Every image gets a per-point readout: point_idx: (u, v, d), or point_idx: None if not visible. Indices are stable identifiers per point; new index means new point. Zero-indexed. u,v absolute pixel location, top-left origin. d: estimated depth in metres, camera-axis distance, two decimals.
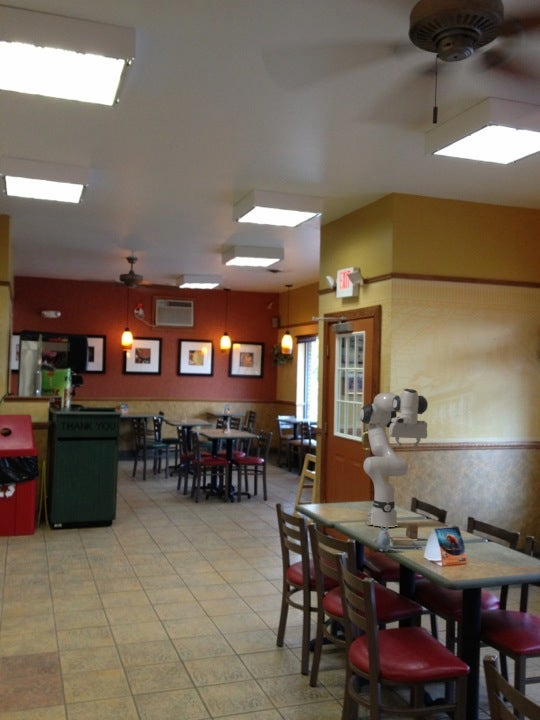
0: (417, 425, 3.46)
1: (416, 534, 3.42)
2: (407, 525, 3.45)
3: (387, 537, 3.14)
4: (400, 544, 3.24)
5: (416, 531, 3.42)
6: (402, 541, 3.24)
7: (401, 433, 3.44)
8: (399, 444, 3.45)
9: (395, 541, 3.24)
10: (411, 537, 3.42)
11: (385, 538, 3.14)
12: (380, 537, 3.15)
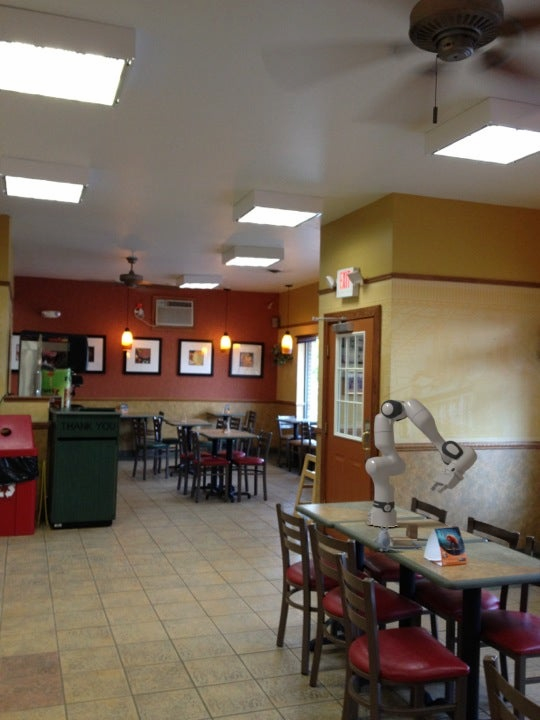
0: None
1: (416, 534, 3.42)
2: (407, 525, 3.45)
3: (387, 537, 3.14)
4: (400, 544, 3.24)
5: (416, 531, 3.42)
6: (402, 541, 3.24)
7: None
8: None
9: (395, 541, 3.24)
10: (411, 537, 3.42)
11: (385, 538, 3.14)
12: (380, 537, 3.15)
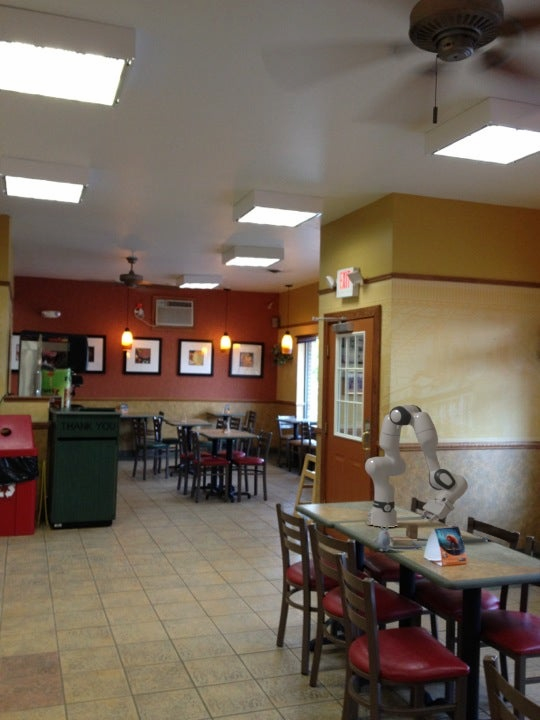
0: None
1: (416, 534, 3.42)
2: (407, 525, 3.45)
3: (387, 537, 3.14)
4: (400, 544, 3.24)
5: (416, 531, 3.42)
6: (402, 541, 3.24)
7: None
8: None
9: (395, 541, 3.24)
10: (411, 537, 3.42)
11: (385, 538, 3.14)
12: (380, 537, 3.15)
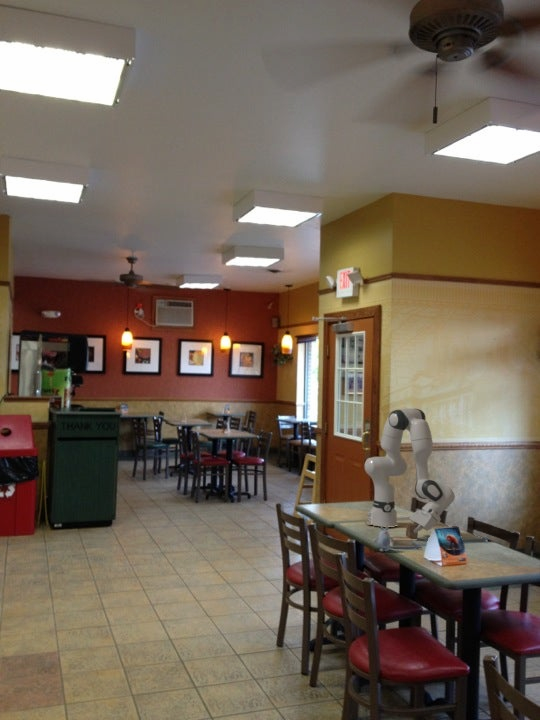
0: None
1: (416, 534, 3.42)
2: (407, 525, 3.45)
3: (387, 537, 3.14)
4: (400, 544, 3.24)
5: None
6: (402, 541, 3.24)
7: None
8: None
9: (395, 541, 3.24)
10: (411, 537, 3.42)
11: (385, 538, 3.14)
12: (380, 537, 3.15)
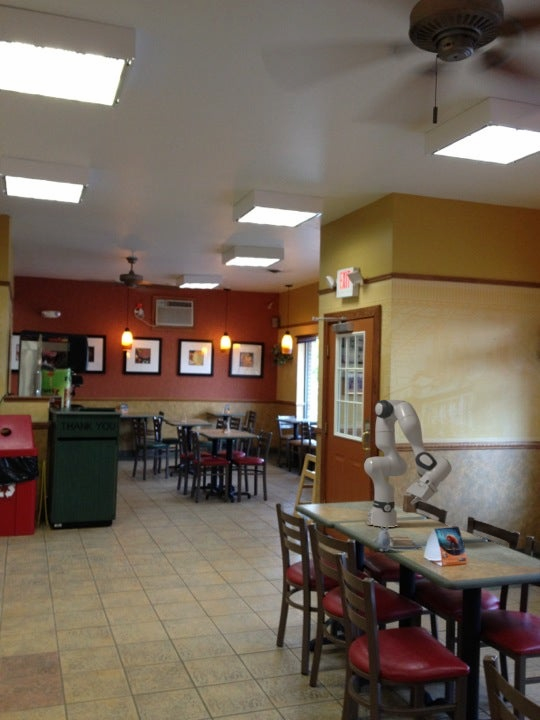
0: None
1: (413, 506, 3.36)
2: (404, 497, 3.38)
3: (387, 537, 3.14)
4: (400, 544, 3.24)
5: None
6: (402, 541, 3.24)
7: None
8: None
9: (395, 541, 3.24)
10: (408, 509, 3.35)
11: (385, 538, 3.14)
12: (380, 537, 3.15)
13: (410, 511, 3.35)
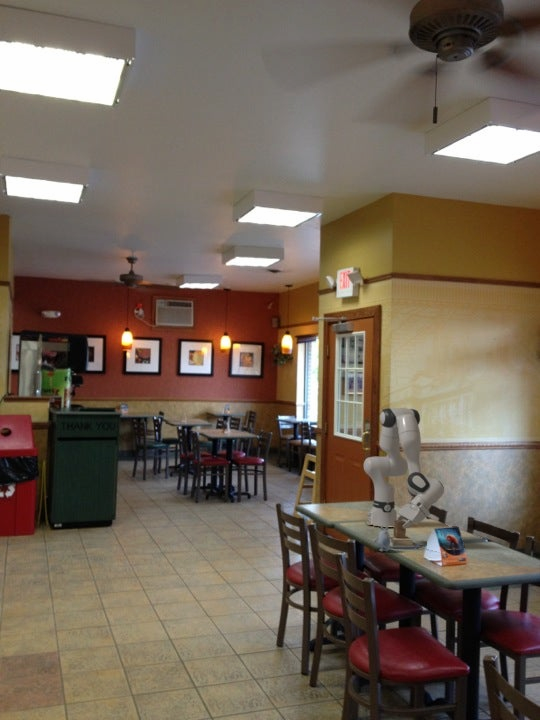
0: None
1: (404, 532, 3.28)
2: (395, 522, 3.30)
3: (387, 537, 3.14)
4: (400, 544, 3.24)
5: None
6: (402, 541, 3.24)
7: None
8: None
9: (395, 541, 3.24)
10: (399, 535, 3.27)
11: (385, 538, 3.14)
12: (380, 537, 3.15)
13: (401, 537, 3.27)
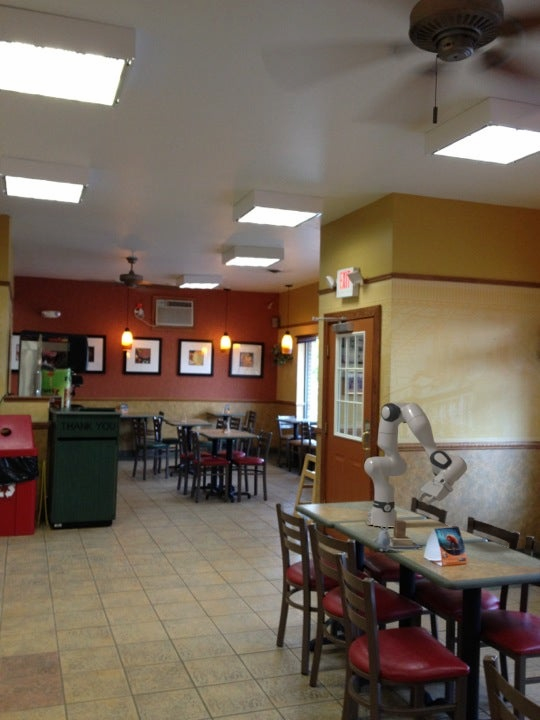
0: None
1: (404, 532, 3.28)
2: (395, 522, 3.30)
3: (387, 537, 3.14)
4: (400, 544, 3.24)
5: (404, 528, 3.28)
6: (402, 541, 3.24)
7: None
8: None
9: (395, 541, 3.24)
10: (399, 535, 3.27)
11: (385, 538, 3.14)
12: (380, 537, 3.15)
13: (401, 537, 3.27)
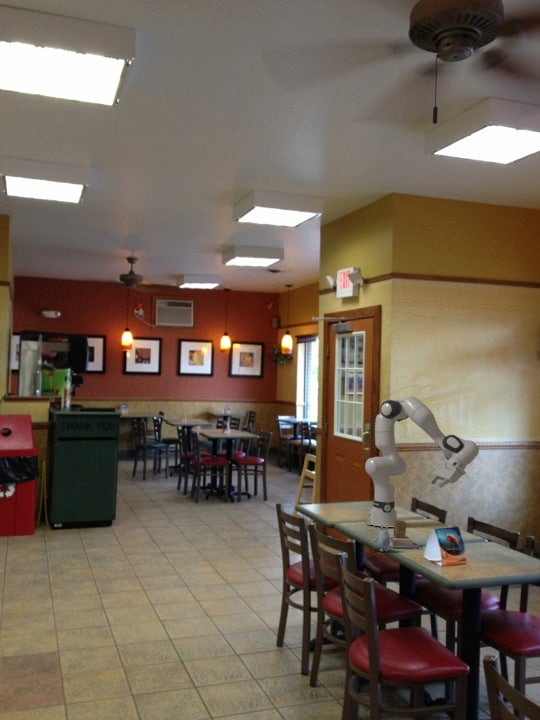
0: None
1: (404, 532, 3.28)
2: (395, 522, 3.30)
3: (387, 537, 3.14)
4: (400, 544, 3.24)
5: (404, 528, 3.28)
6: (402, 541, 3.24)
7: None
8: None
9: (395, 541, 3.24)
10: (399, 535, 3.27)
11: (385, 538, 3.14)
12: (380, 537, 3.15)
13: (401, 537, 3.27)
